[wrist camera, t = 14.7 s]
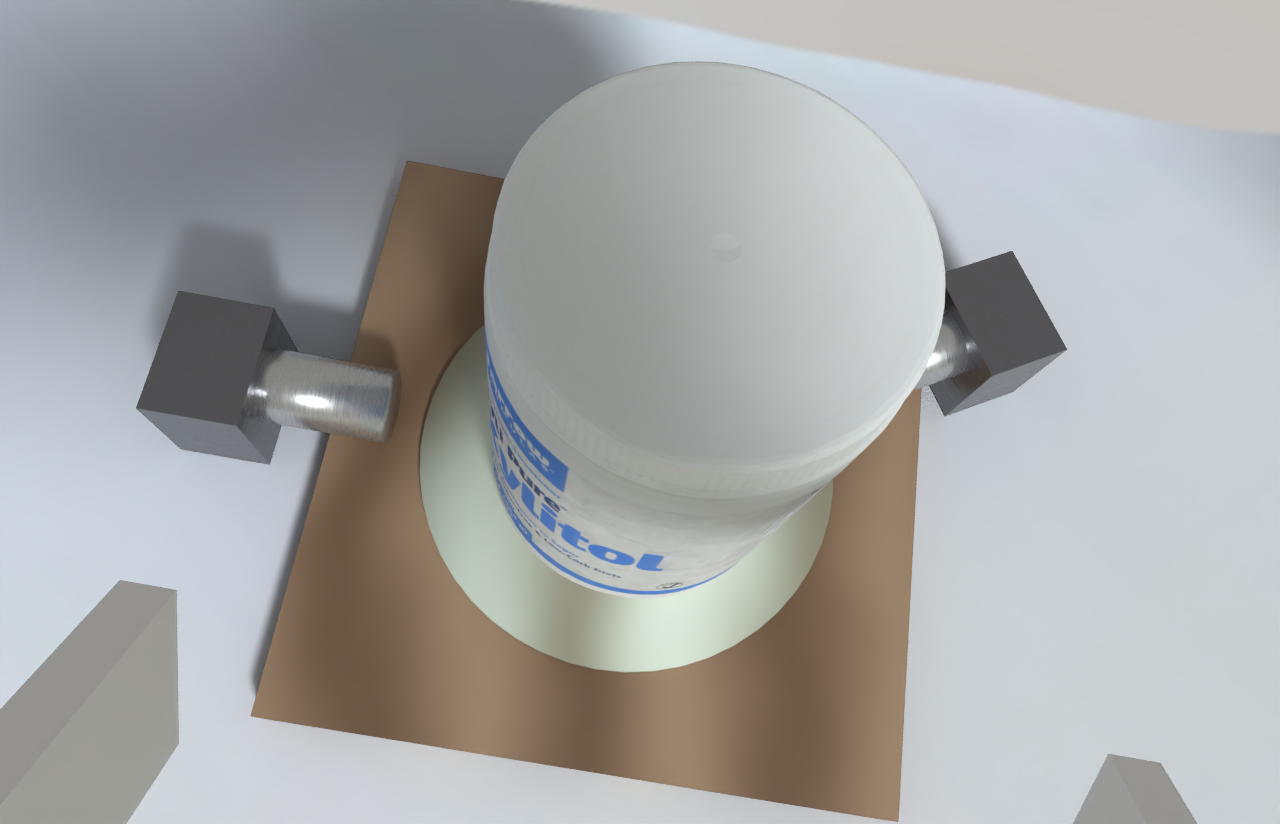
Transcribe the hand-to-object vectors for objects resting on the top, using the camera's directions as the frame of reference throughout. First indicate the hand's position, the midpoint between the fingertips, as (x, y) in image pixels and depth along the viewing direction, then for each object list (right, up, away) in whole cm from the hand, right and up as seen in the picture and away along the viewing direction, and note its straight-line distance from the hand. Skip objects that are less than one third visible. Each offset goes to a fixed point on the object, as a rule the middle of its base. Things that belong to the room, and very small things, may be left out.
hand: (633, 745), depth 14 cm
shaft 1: (-12, +5, +20) cm, 24 cm away
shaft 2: (+10, +6, +23) cm, 26 cm away
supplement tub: (0, +3, +19) cm, 20 cm away
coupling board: (0, +3, +21) cm, 21 cm away
